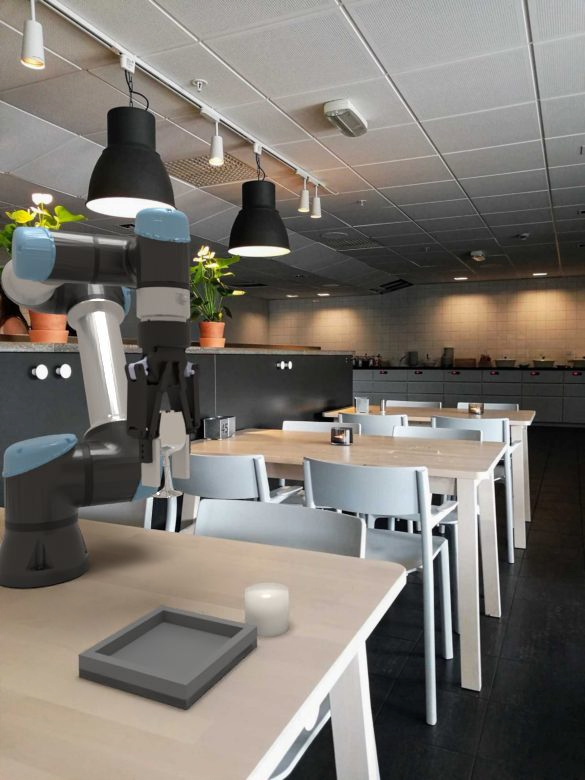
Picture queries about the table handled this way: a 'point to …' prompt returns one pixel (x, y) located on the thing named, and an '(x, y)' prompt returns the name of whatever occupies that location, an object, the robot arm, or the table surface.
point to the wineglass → (169, 444)
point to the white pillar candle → (267, 608)
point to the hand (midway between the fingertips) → (166, 481)
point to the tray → (169, 655)
